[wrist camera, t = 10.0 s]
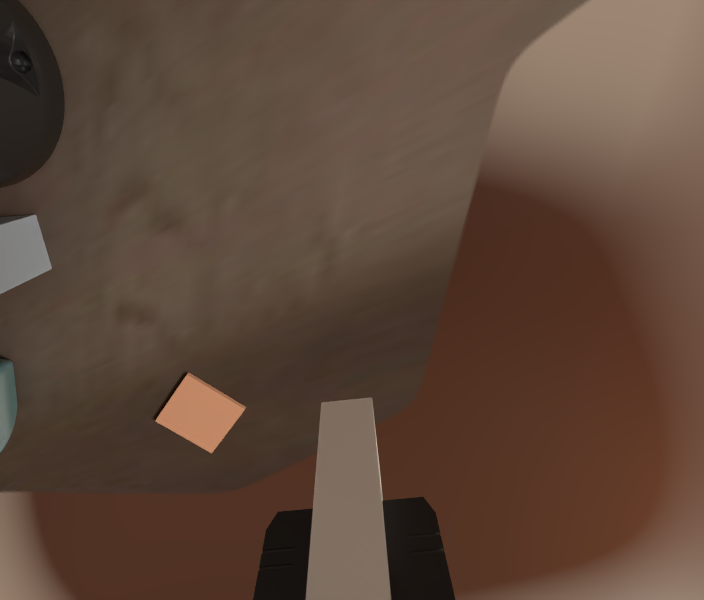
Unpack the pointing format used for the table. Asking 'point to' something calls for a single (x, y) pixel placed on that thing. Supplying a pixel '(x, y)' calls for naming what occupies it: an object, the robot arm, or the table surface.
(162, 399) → the table surface
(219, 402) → the tile
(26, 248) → the post slate
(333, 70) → the table surface
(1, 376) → the flower pot
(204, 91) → the table surface
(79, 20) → the table surface
